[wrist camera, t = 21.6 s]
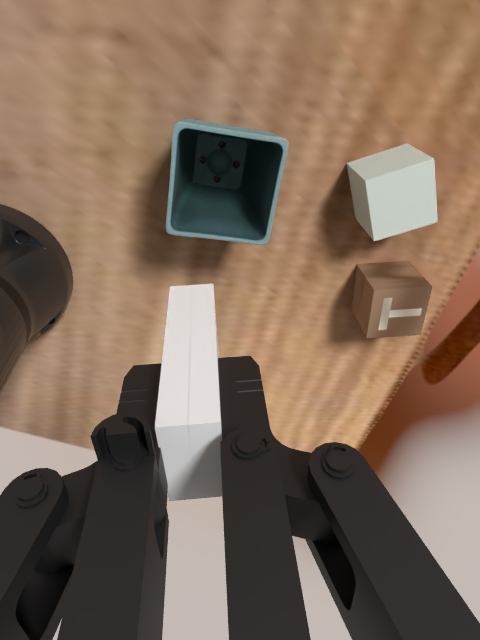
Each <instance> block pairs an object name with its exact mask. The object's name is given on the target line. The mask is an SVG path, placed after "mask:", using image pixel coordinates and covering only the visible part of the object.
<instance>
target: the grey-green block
mask: <svg viewBox="0 0 480 640" xmlns="http://www.w3.org/2000/svg"><path fill="white" fill-rule="evenodd" d="M347 169H348V175H349V181H350V187H351V194H352V200H353V206H354V212H355V218H356V220H357V221H358V222H359V224H360V225H361V226H362V227H363V229H364V230H365V231H366V232H367V233H368V235H369V236H370V237H371V238H372V240H373V241H377V240H381V239H384V238H387V237H390V236H394V235H397V234H400V233H403V232H407V231H410V230H413V229H416V228H420V227H423V226H426V225H429V224H433V223H436V222H438V221H437V203H436V185H435V167H434V158H432V157H430V156H429V155H427V154H425V153H423V152H422V151H420V150H418V149H416V148H414V147H413V146H411V145H409V144H404V145H401V146H398V147H395V148H392V149H389V150H385V151H382V152H379V153H376V154H373V155H370V156H367V157H364V158H361V159H358V160H355V161H352V162H349V163H347Z"/></svg>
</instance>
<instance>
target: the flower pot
mask: <svg viewBox="0 0 480 640" xmlns="http://www.w3.org/2000/svg"><path fill="white" fill-rule="evenodd" d="M220 142H223V143H224V147H220V146H219V143H220ZM288 147H289V143H288V141H287V140H286V139H284V138H282V137H280V136H278V135H275V134H273V133H271V132H267V131H261V130H254V129H248V128H241V127H235V126H229V125H223V124H217V123H211V122H205V121H199V120H193V119H182V120H180V121H179V122H177V123H176V124H175V125H174V127H173V134H172V150H171V167H170V181H169V192H168V204H167V215H166V225H165V228H166V232H167V233H168V234H171V235H176V236H188V237H198V238H207V239H215V240H224V241H232V242H240V243H248V244H254V245H265V244H267V243H268V242H269V239H270V234H271V229H272V224H273V219H274V213H275V208H276V203H277V199H278V193H279V188H280V184H281V179H282V174H283V170H284V165H285V161H286V158H287V153H288ZM201 157H204V158H205V162H201V161H200V158H201ZM234 162H238V164H239V165H238V167H234V165H233V164H234ZM216 176H218V177H219V178H220V180H219V181H218V182H217V181H215V177H216Z"/></svg>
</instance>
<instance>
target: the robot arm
mask: <svg viewBox="0 0 480 640" xmlns="http://www.w3.org/2000/svg"><path fill="white" fill-rule="evenodd" d="M72 289H73V275H72V269H71V266H70V262H69V260H68V257H67V255H66V253H65V251H64V250H63V248H62V247H61V245H60V244H59V242H58V241H57V240H56V238H55V237H54V236H53V235H52V234H51V233H50V232H49V231H48V230H47V229H46V228H45V227H44V226H42V225H41V224H40V223H39V222H37V221H36V220H34V219H33V218H31V217H29V216H28V215H26V214H24V213H22V212H20V211H18V210H16V209H13V208H11V207H8V206H4V205H1V204H0V392H1V390H2V389H3V387H4V385H5V383H6V381H7V379H8V377H9V376H10V374H11V372H12V370H13V368H14V366H15V364H16V362H17V361H18V359H19V357H20V355H21V353H22V351H23V349H24V347H25V346H26V345H27V344H28V343H29V342H31V341H32V340H34V339H35V338H37V337H38V336H40V335H41V334H42V333H44V332H46V331H47V330H48V329H50V328H51V327H52V326H53V325H54V324H55V323H56V322H57V321H58V320H59V318H60V317H61V316H62V314H63V312H64V310H65V308H66V306H67V304H68V302H69V300H70V297H71V294H72ZM91 440H92V443H93V446H94V449H95V452H96V455H97V458H98V461H96V462H95V463H93V464H92V465H90V466H88V467H86V468H84V469H81V470H79V471H76V472H73V473H71V474H68V475H65V476H62V477H61V476H60V475H59V474H58V472H57V471H55V470H52V469H48V468H39V469H34V470H31V471H28V472H25V473H23V474H21V475H20V476H18V477H17V478H15V479H14V480H13V481H12V482H11V483H10V484H9V485H8V486H7V487H6V488H5V489H4V491H3V492H2V494H1V495H0V640H52V639H53V637H54V635H55V632H56V630H57V628H58V625H59V623H60V621H61V619H62V621H61V626H60V630H59V634H58V639H57V640H162V629H163V613H164V595H165V577H166V561H167V560H166V559H167V544H168V527H169V520H168V514H167V509H166V506H167V492H168V497H169V501H174V500H186V499H197V498H208V497H220V496H222V497H223V519H224V538H225V539H224V540H225V562H226V584H227V605H228V625H229V640H311V639H310V634H309V628H308V622H307V617H306V611H305V606H304V600H303V595H302V589H301V583H300V578H299V572H298V567H297V562H296V556H295V550H294V545H293V539H292V536H296V537H300V538H304V539H306V541H307V544H308V546H309V548H310V550H311V552H312V555H313V557H314V559H315V561H316V563H317V565H318V567H319V569H320V571H321V574H322V576H323V578H324V580H325V582H326V584H327V587H328V589H329V591H330V593H331V595H332V597H333V599H334V601H335V604H336V606H337V608H338V610H339V612H340V614H341V616H342V619H343V621H344V623H345V625H346V627H347V629H348V631H349V633H350V636H351V638H352V640H480V623H479V622H478V620H477V619H476V617H475V616H474V615H473V613H472V612H471V611H470V609H469V607H468V606H467V604H466V603H465V602H464V600H463V599H462V597H461V596H460V594H459V593H458V592H457V590H456V589H455V587H454V586H453V585H452V583H451V581H450V580H449V579H448V577H447V576H446V574H445V573H444V571H443V570H442V569H441V567H440V566H439V564H438V563H437V561H436V560H435V558H434V557H433V556H432V554H431V553H430V551H429V550H428V548H427V547H426V546H425V544H424V543H423V541H422V540H421V538H420V537H419V535H418V534H417V533H416V531H415V530H414V528H413V527H412V525H411V524H410V523H409V521H408V520H407V518H406V517H405V515H404V514H403V512H402V511H401V510H400V508H399V507H398V505H397V504H396V503H395V501H394V500H393V498H392V497H391V496H390V494H389V492H388V491H387V489H386V488H385V487H384V485H383V484H382V482H381V481H380V480H379V478H378V477H377V475H376V474H375V472H374V471H373V469H372V468H371V466H370V465H369V464H368V462H367V461H366V459H365V458H364V457H363V456H362V455H361V454H360V453H359V452H358V451H357V450H356V449H354V448H352V447H351V446H349V445H347V444H342V443H337V442H333V443H325V444H323V445H321V446H319V447H317V448H315V450H314V451H313V452H312V453H309V452H304V451H299V450H295V449H291V448H288V447H287V446H285V445H283V444H281V443H280V442H279V441H278V440H276V438H275V437H274V436H273V434H272V432H271V429H270V426H269V420H268V414H267V409H266V403H265V397H264V391H263V386H262V381H261V374H260V369H259V365H258V364H257V363H256V362H255V361H254V360H253V358H252V357H251V356H241V357H227V358H219V355H218V340H217V327H216V314H215V301H214V288H213V284H201V285H186V286H171V287H170V294H169V303H168V312H167V321H166V330H165V339H164V348H163V357H162V363H161V364H148V365H135V366H133V367H132V368H131V370H130V371H129V372H128V373H127V375H126V376H125V377H124V381H123V386H122V393H121V395H120V400H119V404H118V409H117V414H116V415H112V416H110V417H109V418H107V419H105V420H103V421H102V422H101V423H100V424H98V425H97V426H96V427H95V429H94V431H93V432H92V434H91Z"/></svg>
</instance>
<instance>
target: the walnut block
mask: <svg viewBox="0 0 480 640" xmlns="http://www.w3.org/2000/svg"><path fill="white" fill-rule="evenodd" d="M431 289H432V286H431V285H430V284H429V283H428V281H427V280H426V279H425V278H424V277H423V276H422V275H421V274H420V273H419V271H418V270H417V269H416V268H415V267H414V266H413V265H412V264H411V262H410V261H404V262H387V263H369V264H357V268H356V275H355V283H354V290H353V298H352V306H351V311H352V312H353V314H354V316H355V318H356V320H357V322H358V324H359V325H360V327H361V329H362V331H363V333H364V335H365V337H366V338H381V337H396V336H411V335H421V331H422V327H423V323H424V318H425V314H426V310H427V306H428V302H429V298H430V294H431Z"/></svg>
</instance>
